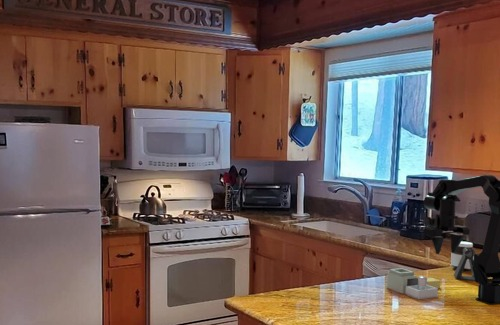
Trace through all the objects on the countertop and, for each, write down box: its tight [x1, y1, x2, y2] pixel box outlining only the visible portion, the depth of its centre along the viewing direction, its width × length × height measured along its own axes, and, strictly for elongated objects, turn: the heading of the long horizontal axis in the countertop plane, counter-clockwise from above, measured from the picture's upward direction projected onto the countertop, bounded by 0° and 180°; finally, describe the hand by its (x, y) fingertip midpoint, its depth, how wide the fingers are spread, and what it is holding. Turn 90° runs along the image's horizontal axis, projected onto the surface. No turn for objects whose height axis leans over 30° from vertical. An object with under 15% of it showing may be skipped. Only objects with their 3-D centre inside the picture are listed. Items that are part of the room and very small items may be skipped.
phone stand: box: [453, 248, 476, 282], centre depth 203 cm, size 9×6×12 cm, turn 75°
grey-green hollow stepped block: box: [386, 267, 418, 294], centre depth 183 cm, size 8×9×7 cm
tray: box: [405, 285, 439, 300], centre depth 175 cm, size 6×9×3 cm, turn 116°
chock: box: [427, 277, 441, 289], centre depth 188 cm, size 5×6×3 cm
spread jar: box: [450, 240, 477, 272], centre depth 222 cm, size 12×11×12 cm
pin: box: [417, 275, 428, 290], centre depth 175 cm, size 3×3×6 cm
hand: (445, 253), depth 191 cm, fingers open, 8 cm apart
